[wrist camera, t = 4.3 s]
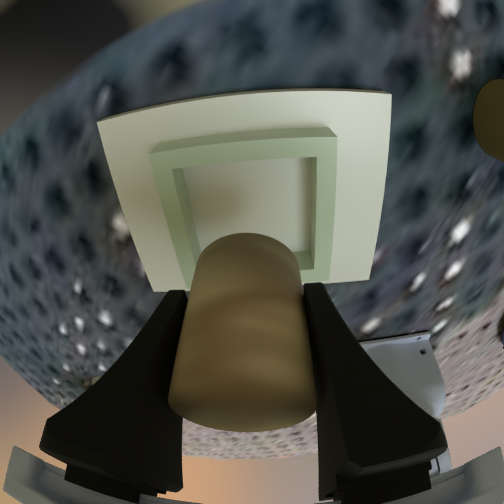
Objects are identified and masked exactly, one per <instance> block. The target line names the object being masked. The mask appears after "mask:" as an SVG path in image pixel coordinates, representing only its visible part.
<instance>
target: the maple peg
mask: <svg viewBox="0 0 504 504" xmlns="http://www.w3.org/2000/svg"><path fill="white" fill-rule="evenodd" d="M168 403H169V405H170V407H171V408H172V410H173V411H174V412H176V413H177V414H178V415H180V416H181V417H183V418H185V419H187V420H189V421H191V422H194V423H196V424H199V425H202V426H206V427H210V428H214V429H219V430H226V431H235V432H262V431H271V430H277V429H282V428H286V427H289V426H293V425H295V424H298V423H300V422H302V421H304V420H306V419H307V418H309V417H310V416H311V415H312V414H313V413H314V412H315V410H316V409H317V399H316V389H315V380H314V371H313V363H312V355H311V347H310V339H309V331H308V324H307V317H306V310H305V303H304V295H303V288H302V282H301V275H300V269H299V264H298V261H297V259H296V257H295V255H294V254H293V253H292V251H291V250H290V249H289V248H288V247H287V246H286V245H284V244H283V243H281V242H280V241H278V240H276V239H274V238H272V237H269V236H266V235H262V234H257V233H235V234H230V235H227V236H224V237H221V238H219V239H217V240H215V241H214V242H212V243H211V244H209V245H208V246H207V247H206V248H205V249H204V250H203V251H202V253H201V254H200V256H199V258H198V261H197V264H196V268H195V272H194V276H193V280H192V284H191V289H190V293H189V297H188V302H187V306H186V311H185V315H184V320H183V324H182V329H181V334H180V338H179V343H178V348H177V353H176V358H175V363H174V368H173V373H172V378H171V384H170V389H169V395H168Z"/></svg>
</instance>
